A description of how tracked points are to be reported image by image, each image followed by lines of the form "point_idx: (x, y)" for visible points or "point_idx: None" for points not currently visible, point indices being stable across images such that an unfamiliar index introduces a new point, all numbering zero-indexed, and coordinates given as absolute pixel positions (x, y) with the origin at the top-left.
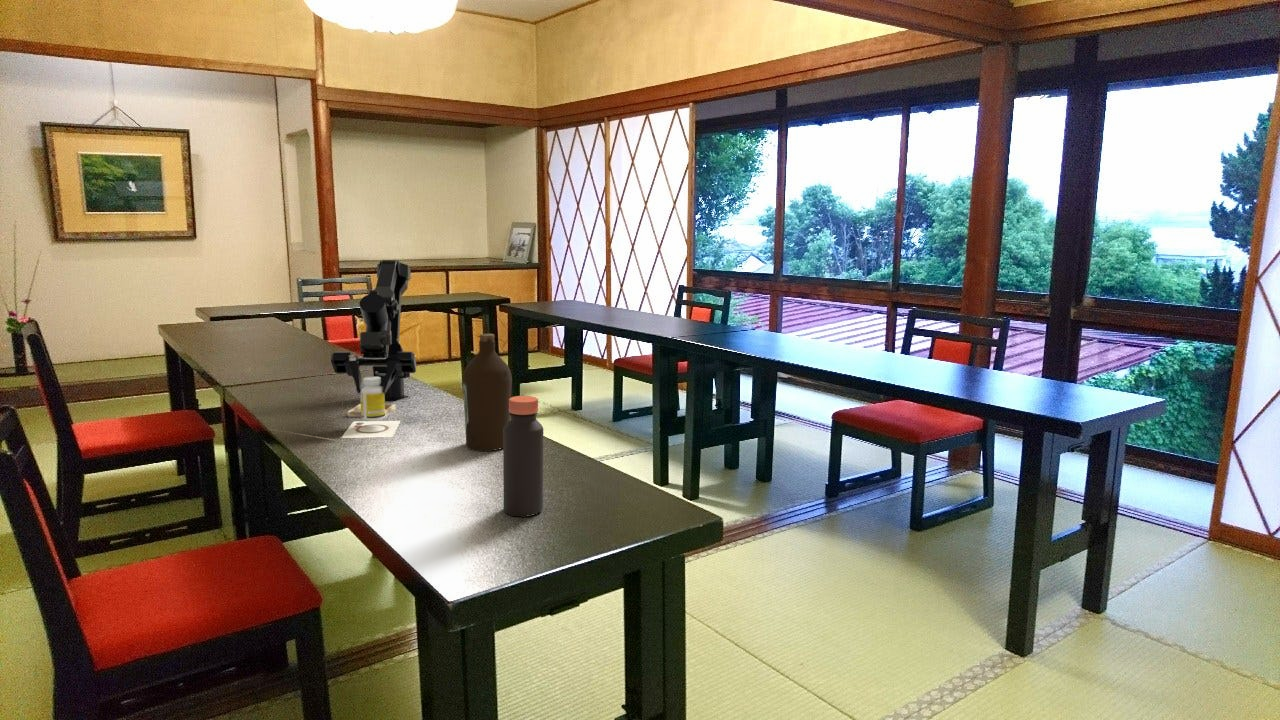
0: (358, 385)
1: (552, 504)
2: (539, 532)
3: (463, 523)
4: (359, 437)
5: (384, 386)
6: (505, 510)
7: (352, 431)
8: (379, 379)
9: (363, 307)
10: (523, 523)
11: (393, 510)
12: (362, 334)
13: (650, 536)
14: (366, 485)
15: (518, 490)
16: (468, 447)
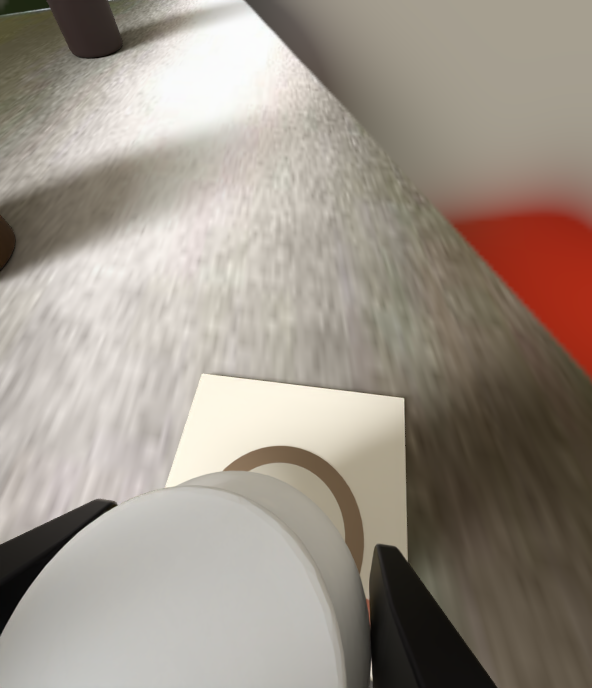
0: (400, 596)
1: (53, 55)
2: None
3: (179, 37)
4: (329, 391)
5: (62, 530)
6: (121, 39)
7: (372, 499)
8: (52, 564)
9: None
10: None
11: (254, 60)
12: None
13: (17, 14)
14: (291, 113)
15: None
16: (14, 240)
